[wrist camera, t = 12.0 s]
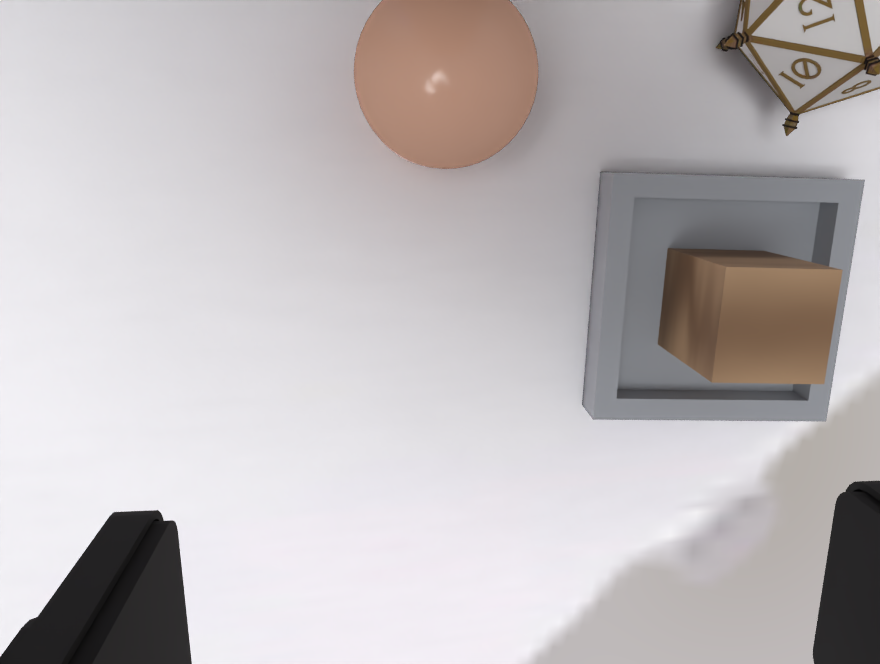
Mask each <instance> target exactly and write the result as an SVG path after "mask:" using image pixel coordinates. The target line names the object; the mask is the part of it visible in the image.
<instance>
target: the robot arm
mask: <svg viewBox="0 0 880 664" xmlns="http://www.w3.org/2000/svg"><path fill="white" fill-rule="evenodd" d="M813 659H814V664H880V481H862V482H854V483H852V484H851V485H849V487H848V488H847V489H846V492H843V493H842V494H840V495H839V496H838V498H837V501H836V504H835V511H834V517H833V524H832V531H831V537H830V544H829V550H828V556H827V563H826V569H825V576H824V582H823V588H822V595H821V602H820V608H819V614H818V621H817V628H816V634H815V641H814V647H813ZM0 664H192V662H191V653H190V643H189V634H188V624H187V615H186V605H185V596H184V586H183V577H182V567H181V558H180V549H179V539H178V531H177V526H176V523H175V522H174V521H163V517H162V515H161V513H160V512H159V511H158V510H156V511H131V512H114V513H113V514H112V515H111V516H110V517H109V518H108V519H107V521H106V522H105V524H104V525H103V526H102V528H101V529H100V531H99V532H98V533H97V535H96V536H95V538H94V539H93V540H92V542H91V543H90V545H89V546H88V547H87V549H86V550H85V552H84V553H83V554H82V556H81V557H80V559H79V560H78V561H77V563H76V564H75V566H74V567H73V568H72V570H71V571H70V573H69V574H68V575H67V577H66V578H65V579H64V581H63V582H62V584H61V585H60V586H59V588H58V589H57V591H56V592H55V593H54V595H53V596H52V598H51V599H50V600H49V602H48V603H47V605H46V606H45V607H44V609H43V610H42V612H41V613H40V614H39V616H38V617H36V618H34V619H31V620H29V621H28V622H27V623H26V624H25V625H24V626H23V627H22V628H21V630H20V631H19V632H18V634H17V635H16V636H15V638H14V639H13V640H12V642H11V643H10V645H9V646H8V647H7V649H6V650H5V651H4V653H3V654H2V655H1V657H0Z"/></svg>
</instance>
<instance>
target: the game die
mask: <svg viewBox="0 0 880 664" xmlns="http://www.w3.org/2000/svg"><path fill="white" fill-rule="evenodd" d="M716 48H718V49H722V50H723V51H727V50H728V49H737V48H738V49H739V50H740V51H741V52H742V54H743V55H744V56H745V57H746V59H747V60H748V61H749V62H750V63H751V65H752V66H753V67H754V68H755V70H756V71H757V72H758V73H759V74H760V76H761V77H762V78H763V79H764V81H765V82H766V83H767V84H768V86H769V87H770V88H771V89H772V90H773V92H774V93H775V94H776V95H777V97H778V98H779V99H780V100H781V101H782V103H783V104H784V105H785V106H786V108H787V109H788V110H789V111H790V115H789V116H788V118H787V119H786V118H785V120H786V121H785V124H783V125H782V126H784V129H785V133H786V136H788V135H789V134H790V133H791V132H792V131H793V130H794V129H797V127H796V126H797V123H799V121H798V116H799V114H802V113H805V112H808V111H811V110H814V109H817V108H820V107H824V106H827V105H830V104H833V103H836V102H839V101H843V100H846V99H849V98H852V97H855V96H858V95H862V94H865V93H868V92H871V91H874V90H877V89H880V0H740V5H739V11H738V16H737V22H736V27H735V33H733V34H732V35H731V36H728V37H727V38H726V39H725V38H723V39H722V40H721V41H720V44H719V45H718V46H717V47H716Z"/></svg>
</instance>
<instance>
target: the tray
mask: <svg viewBox="0 0 880 664" xmlns="http://www.w3.org/2000/svg"><path fill="white" fill-rule="evenodd" d="M864 182H865V180H854V179H825V178H791V177H756V176H722V175H688V174H653V173H619V172H600V184H599V197H598V210H597V223H596V236H595V248H594V261H593V274H592V287H591V300H590V313H589V326H588V338H587V351H586V364H585V377H584V390H583V403H582V405H583V407H584V408H585V409H586V411H587V412H588V413H589V415H590V416H591V417H592V419H610V420H729V421H826V418H827V412H828V406H829V400H830V393H831V387H832V381H833V375H834V368H835V362H836V356H837V350H838V344H839V337H840V331H841V325H842V319H843V312H844V306H845V300H846V294H847V287H848V281H849V275H850V269H851V263H852V256H853V250H854V244H855V238H856V231H857V225H858V219H859V213H860V206H861V200H862V194H863V188H864ZM668 248H680V249H718V250H756V251H767V252H771V253H776V254H780V255H784V256H788V257H792V258H796V259H800V260H804V261H808V262H813V263H817V264H821V265H825V266H829V267H833V268H837V269H841V270H843V271H842V277H841V284H840V290H839V296H838V302H837V308H836V315H835V321H834V327H833V333H832V339H831V346H830V352H829V358H828V364H827V370H826V377H825V383H824V384H770V383H712V382H710V381H709V380H707V379H706V378H705V377H703V376H702V375H700V374H699V373H697V372H696V371H695V370H693V369H692V368H690V367H689V366H688V365H686V364H685V363H683V362H682V361H680V360H679V359H678V358H676V357H675V356H673V355H672V354H671V353H669V352H668V351H666V350H665V349H663V348H662V347H661V346H659V345H658V336H659V326H660V317H661V307H662V298H663V288H664V278H665V269H666V259H667V250H668Z"/></svg>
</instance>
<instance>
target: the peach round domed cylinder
mask: <svg viewBox="0 0 880 664" xmlns="http://www.w3.org/2000/svg"><path fill="white" fill-rule="evenodd" d="M354 79H355V88H356V93H357V97H358V100H359V104H360V107H361V109H362V111H363V114H364V116H365V118H366V120H367V122H368V123H369V125H370V126H371V128H372V129H373V131H374V132H375V133H376V134H377V136H378V137H379V138H380V139H381V141H382V142H383V143H384V144H385V145H386V146H387V147H388V148H389V149H390V150H391V151H392V152H394V153H395V154H397V155H398V156H399V157H401V158H403V159H405V160H407V161H409V162H411V163H414V164H417V165H421V166H426V167H432V168H442V169H449V168H460V167H466V166H470V165H473V164H476V163H479V162H481V161H483V160H485V159H487V158H489V157H491V156H493V155H494V154H496V153H497V152H499V151H500V150H501V149H502V148H504V147H505V146H506V145H507V144H508V143H509V142H510V141H511V140H512V139H513V138H514V137H515V136H516V135H517V133H518V132H519V130H520V129H521V127H522V126H523V125H524V123H525V121H526V119H527V117H528V115H529V113H530V111H531V108H532V105H533V103H534V99H535V95H536V91H537V83H538V60H537V52H536V48H535V44H534V41H533V38H532V35H531V33H530V30H529V28H528V26H527V24H526V22H525V20H524V19H523V17H522V15H521V14H520V13H519V11H518V10H517V9H516V7H515V6H514V5H513V4H512V3H511V2H510V1H509V0H382V1H381V3H380V4H379V5H378V6H377V7H376V8H375V10H374V11H373V12H372V14H371V15H370V17H369V19H368V20H367V22H366V24H365V26H364V28H363V30H362V32H361V35H360V38H359V41H358V44H357V49H356V54H355V62H354Z"/></svg>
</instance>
